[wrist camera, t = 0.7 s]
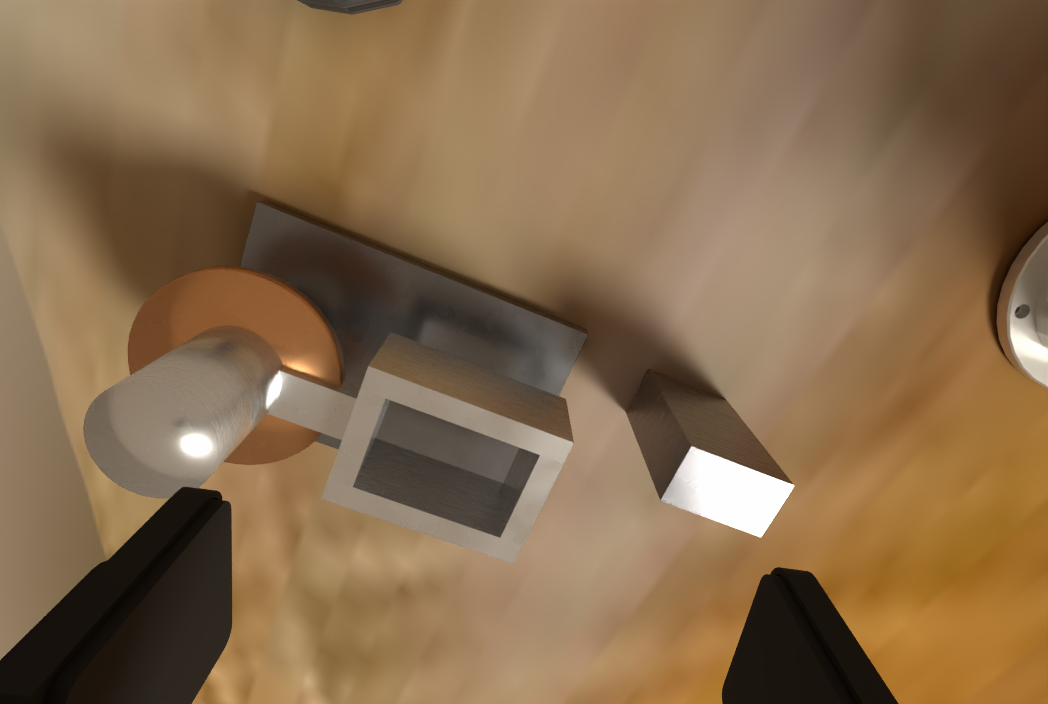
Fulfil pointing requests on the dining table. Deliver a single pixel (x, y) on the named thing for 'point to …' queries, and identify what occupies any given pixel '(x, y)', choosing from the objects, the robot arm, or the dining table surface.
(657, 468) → the grey block
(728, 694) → the robot arm
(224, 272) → the grey boxy fixture
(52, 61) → the dining table surface
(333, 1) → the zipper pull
